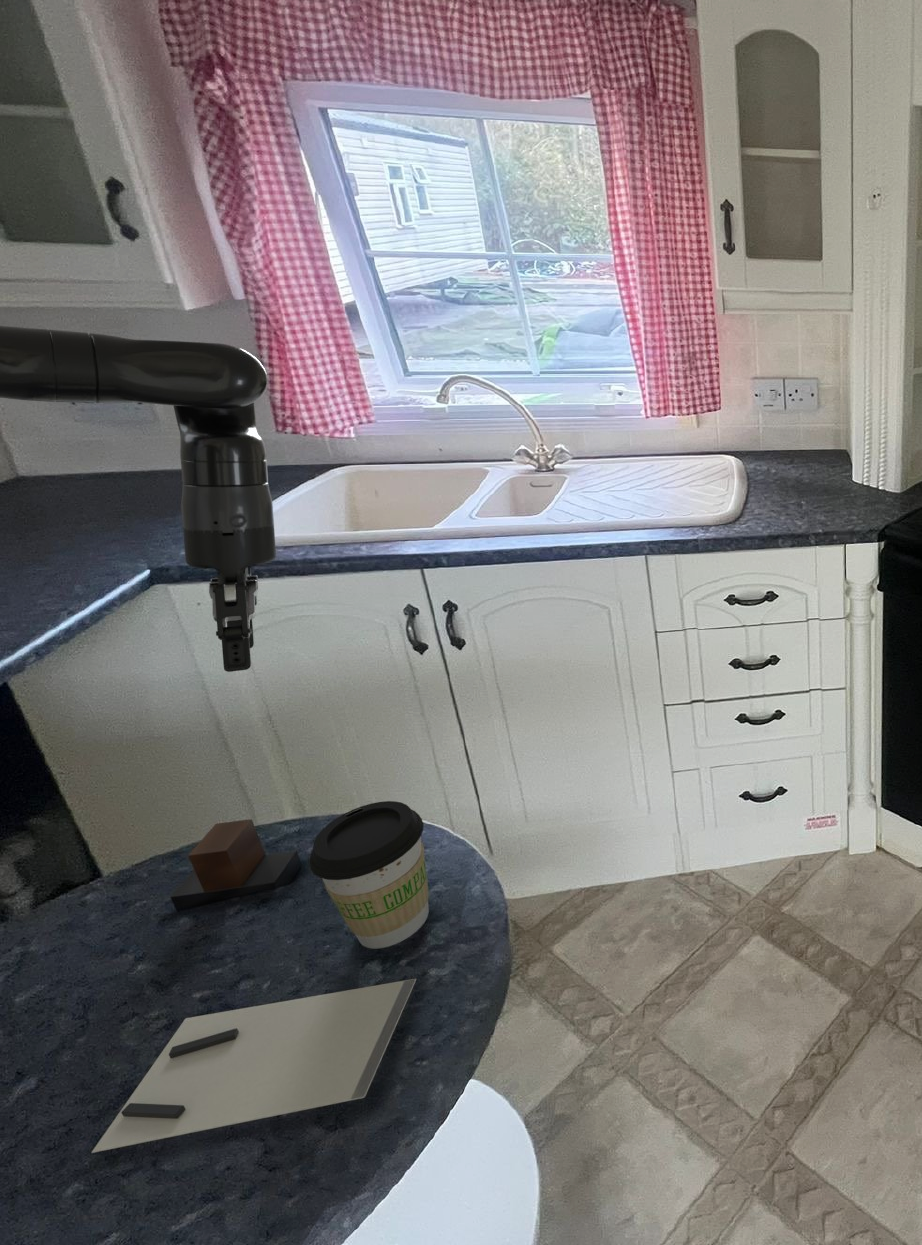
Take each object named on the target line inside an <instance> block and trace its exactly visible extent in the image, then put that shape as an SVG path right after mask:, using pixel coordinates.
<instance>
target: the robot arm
mask: <svg viewBox="0 0 922 1245" xmlns="http://www.w3.org/2000/svg"><path fill="white" fill-rule="evenodd" d="M268 383H269V382H268V374H267V371H266V369H265V367H264V366H263V364H262V363H261V362H260V360H259V359H258V358H257V357H256V356H254V355H253V354H251V353H250V352H248V351H247V350H245V349H243V348H240V347H238V346H235V345H232V344H226V343H217V342H201V341H183V340H182V341H181V340H180V341H179V340H157V339H136V338H135V339H134V338H128V337H121V336H115V335H110V334H104V333H103V334H101V333H92V332H90V333H88V332H81V331H71V330H70V331H69V330H59V329H46V328H33V327H20V326H9V325H8V326H7V325H0V399H1V398H2V399H8V400H18V401H29V402H31V401H32V402H47V403H48V402H50V403H55V402H56V403H76V404H132V403H133V404H134V403H138V404H139V403H140V404H151V405H163V406H173V410H174V414H175V420H176V424H177V427H178V431H179V439H180V442H179V443H180V447H179V458H180V470H181V481H182V492H181V500H180V501H181V503H180V510H181V520H182V531H183V532H182V533H183V544H184V557H185V563H186V564H187V565H188V566H189V567H192V568H195V569H202V570H203V569H204V570H205V569H214V570H215V571H216V572H217V577H214V578H212V577H211V578H210V582H209V583H208V593H209V597H210V599H211V600H212V601H211V602H212V603H211V605H212V607H211V608H212V617H213V621H215V623H216V627H217V628H216V631H215V636H216V637H217V639H218V640H219V641H221V649H222V662H223V670H224V671H225V672H227V673H232V672H241V671H247V670H249V669H250V668H251V666H252V659H251V658H252V656H251V649H252V648H253V647H254V646H255V645H254V644H255V640H254V626H253V619H254V618H255V617H256V606H257V605H258V590H259V578H258V575H257V574H255V575H252V570H251V569H253V567H254V566H256V567H257V566H262V565H265V564H268V563H271V562H273V561H274V560H275V559H276V558H277V551H276V550H277V549H276V536H275V521H274V506H273V505H274V504H273V499H272V494H271V491H270V486H269V473H268V460H267V451H266V446H265V441H264V440H263V438H262V436H261V435H260V434H259V432H258V429H257V419H256V409H255V407H256V406H255V402H256V401H258V400H259V399H260V398H261V397H262V396H263V395H264V393H265V392H266V389H267V386H268Z"/></svg>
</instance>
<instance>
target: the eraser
mask: <svg viewBox="0 0 922 1245" xmlns="http://www.w3.org/2000/svg"><path fill="white" fill-rule="evenodd" d="M187 857H188V859H189V861H190V863H191V866H192V868H193V869H192V871H191V872H190V873H189V874H188V875H187V876H186V878H185V879H184V880H183V881H182V883H181V884H180V885H179V886H178V887H177V888H176V890H174V892H173V893H172V894H171V895H170V899H171V901H172V904H173V906H174V909H175V911H176V913H178V912H183V911H187V910H192V909H195V908H199V907H204V906H207V905H212V904H216V903H220V902H224V901H229V900H233V899H236V898H240V897H245V896H249V895H253V894H257V893H262V892H265V891H272V890H277V889H278V888H279V889H280V888H282V887H286V886H290V884H291V883H292V881H293V880H294V878H295V877H296V876H297V874H298V873H299V871H300V870H301V868H302V867H303V864H302V862H301V858H300V857H299V853H298V851H297V850H290V851H289V850H288V851H282V852H275V853H268V854H266V852H265V849H264V847H263V844H262V841H261V839H260V837H259V834H258V831H257V828H256V826H255V824H254V820H253V818H251V819H250V818H249V819H242V820H233V821H225V822H217V823H215V824H214V825H213V826H212V827H211V828H210V830H209V831H207V833H206V834H205V835H204V836H203V838H202V839H201V840H200V841H199V842H198V843H197V844H196V846H195V847H194V848H193V849H191V851H190V852H189V853H188V855H187Z"/></svg>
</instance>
